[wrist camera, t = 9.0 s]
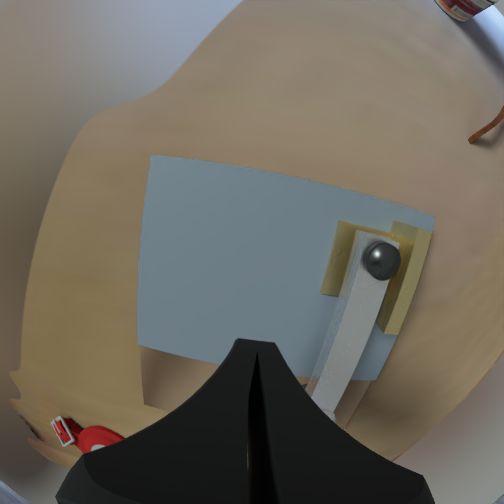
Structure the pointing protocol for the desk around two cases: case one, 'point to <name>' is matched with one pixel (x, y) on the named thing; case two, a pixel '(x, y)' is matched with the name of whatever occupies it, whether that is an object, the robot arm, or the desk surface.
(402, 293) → the brass keeper
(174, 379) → the jamb board
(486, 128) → the glasses
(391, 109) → the desk surface
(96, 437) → the tracker holder
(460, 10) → the pill bottle
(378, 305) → the bar
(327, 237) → the door panel
